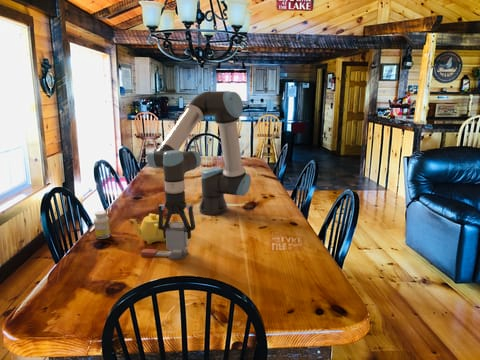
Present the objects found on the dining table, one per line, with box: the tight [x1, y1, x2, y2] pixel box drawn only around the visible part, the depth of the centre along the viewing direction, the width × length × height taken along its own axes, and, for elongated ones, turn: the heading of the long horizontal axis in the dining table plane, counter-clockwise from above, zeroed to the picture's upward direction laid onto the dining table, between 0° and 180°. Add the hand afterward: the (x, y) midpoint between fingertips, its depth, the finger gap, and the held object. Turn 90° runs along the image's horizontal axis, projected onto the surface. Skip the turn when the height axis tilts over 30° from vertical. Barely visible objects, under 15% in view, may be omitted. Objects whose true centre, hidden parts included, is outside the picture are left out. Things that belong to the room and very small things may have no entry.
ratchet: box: [140, 247, 189, 261], centre depth 152 cm, size 7×18×6 cm, turn 85°
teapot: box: [128, 213, 166, 245], centre depth 166 cm, size 14×14×12 cm
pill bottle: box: [93, 210, 112, 240], centre depth 170 cm, size 6×6×12 cm
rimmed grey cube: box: [165, 221, 187, 251], centre depth 150 cm, size 7×7×9 cm
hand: (177, 245), depth 151 cm, fingers closed on rimmed grey cube, 7 cm apart
